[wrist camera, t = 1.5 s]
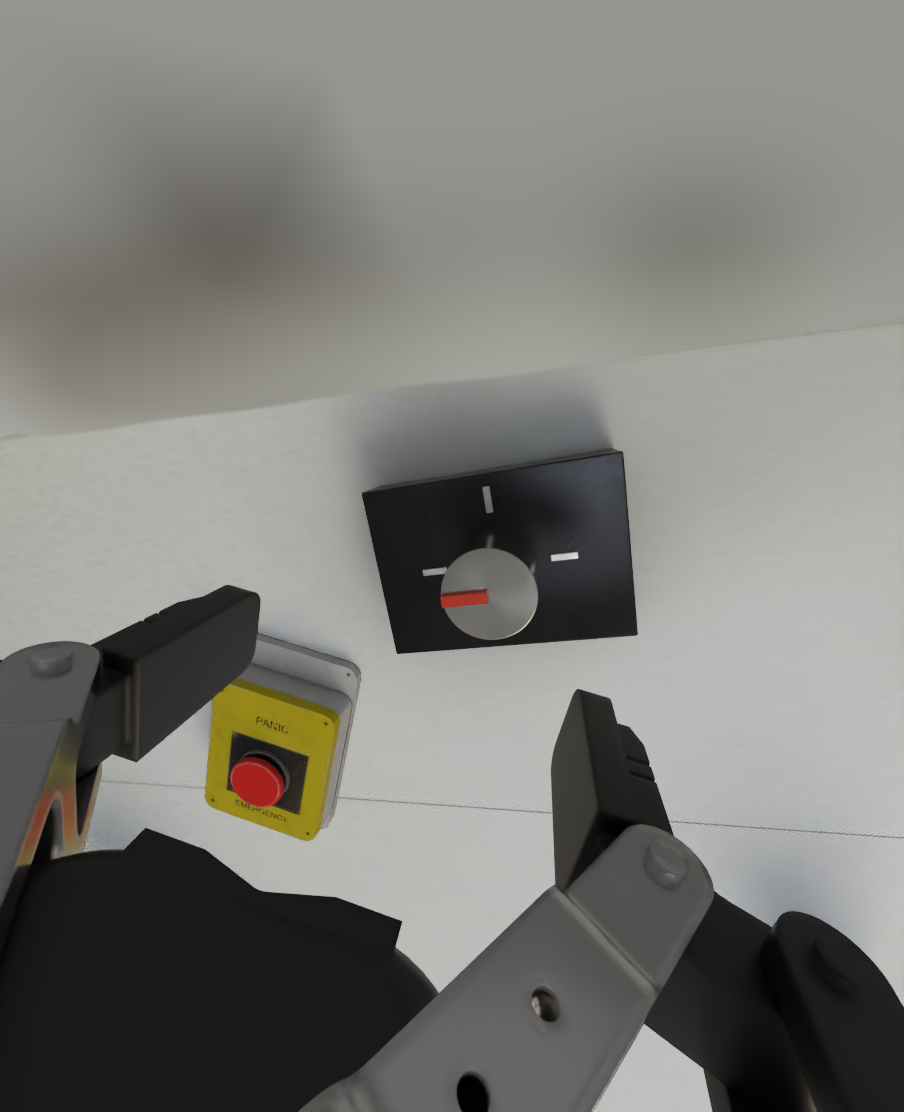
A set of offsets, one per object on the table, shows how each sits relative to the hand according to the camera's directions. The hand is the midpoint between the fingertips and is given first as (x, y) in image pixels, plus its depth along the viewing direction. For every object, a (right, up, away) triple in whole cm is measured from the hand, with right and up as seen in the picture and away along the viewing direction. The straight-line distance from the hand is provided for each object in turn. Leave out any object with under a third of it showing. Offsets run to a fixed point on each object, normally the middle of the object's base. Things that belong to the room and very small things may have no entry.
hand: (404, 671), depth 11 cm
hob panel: (+4, +3, +17) cm, 18 cm away
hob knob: (+4, +2, +14) cm, 15 cm away
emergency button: (-11, -11, +24) cm, 29 cm away
